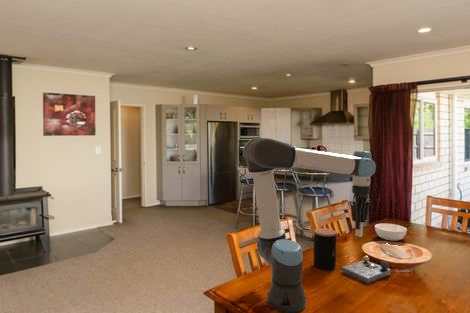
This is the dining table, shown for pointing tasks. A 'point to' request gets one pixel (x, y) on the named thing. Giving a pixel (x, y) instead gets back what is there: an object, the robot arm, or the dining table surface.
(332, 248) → the coffee jar
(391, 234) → the bowl
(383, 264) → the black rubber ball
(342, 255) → the dining table surface
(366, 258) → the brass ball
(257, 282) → the dining table surface
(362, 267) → the grey base plate
